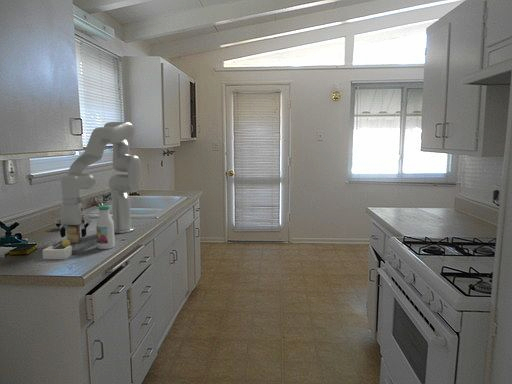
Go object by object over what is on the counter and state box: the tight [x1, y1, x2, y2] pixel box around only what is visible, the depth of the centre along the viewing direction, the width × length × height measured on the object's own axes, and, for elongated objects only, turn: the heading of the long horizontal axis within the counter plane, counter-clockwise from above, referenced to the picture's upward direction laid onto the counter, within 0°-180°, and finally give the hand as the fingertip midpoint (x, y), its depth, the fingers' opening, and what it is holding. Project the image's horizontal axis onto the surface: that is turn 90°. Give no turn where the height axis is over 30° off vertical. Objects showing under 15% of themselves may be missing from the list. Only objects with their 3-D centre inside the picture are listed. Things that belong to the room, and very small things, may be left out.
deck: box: [52, 240, 94, 255], centre depth 182 cm, size 16×15×2 cm
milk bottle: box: [95, 204, 116, 250], centre depth 184 cm, size 8×8×20 cm
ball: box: [61, 238, 70, 247], centre depth 179 cm, size 4×4×4 cm
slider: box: [65, 225, 82, 243], centre depth 186 cm, size 4×5×8 cm
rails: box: [53, 244, 79, 249], centre depth 178 cm, size 8×9×1 cm
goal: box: [42, 245, 73, 260], centre depth 171 cm, size 7×9×4 cm
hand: (73, 236), depth 186 cm, fingers open, 9 cm apart
